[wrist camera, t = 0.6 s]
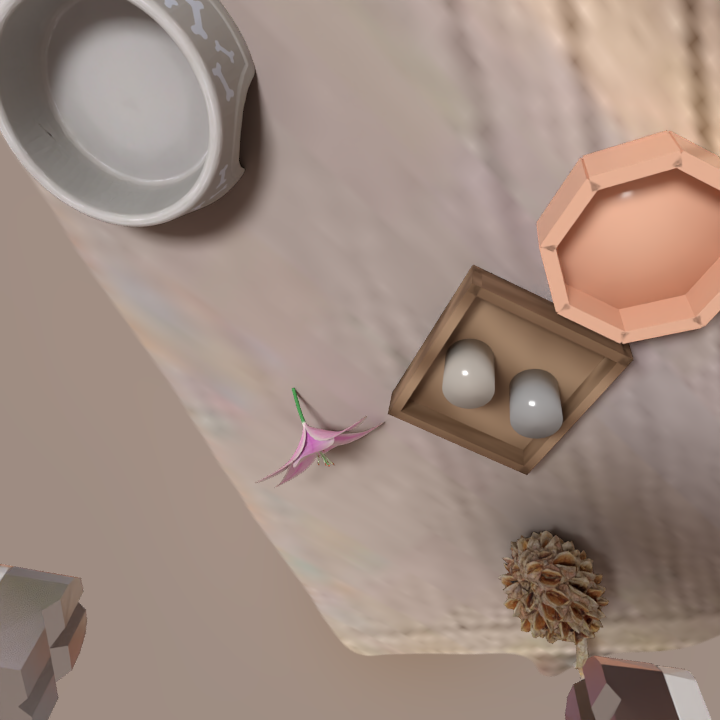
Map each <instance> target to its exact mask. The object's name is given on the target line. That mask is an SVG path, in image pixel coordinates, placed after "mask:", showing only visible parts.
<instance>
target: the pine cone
mask: <svg viewBox="0 0 720 720" xmlns="http://www.w3.org/2000/svg"><path fill="white" fill-rule="evenodd" d="M511 544H512V545H511V550H512V557H513V559H511V558H507V557H505V558H502V559H503V560H505V561H506V562H507V563H508V564H505V563H503V564H504V566H505V568H506V569H507V570H508V571H509V573H507V574H504V575H501V576H500V577H499V578H498V579H500V580H502V584H504V585H505V588H506V589H503V590H504V593H506V594H508V599H507V601H506V602H505V603H504V605H505V606H506V607H507V608H508V609H513V610H514V611H513V617H519V618H520V619H521V631H524V632H529V631H531V633H532V635H533V637H534V638H537V637H538V636H540V637H542V638H544V637H546V639H547V641H548V642H549V643H552V644H553V643H554V642H555V641H557V640H562V641H568V642H574V643H575V645H576V656H577V660H576V662H575V663H573V666H574V667H575V669H578V670H579V673H580V676H581V678H583V679H585V678H584V673H583V669H582V668H583V666H584V664H585V662H586V661H587V659H588V658H589V653H588V647H587V638H594V637H595V635H594V633H595V632H597V631H598V630H599V628H600V627H602V628H603V625H602V623H601V621H600V618H604V617H606V616H605V615H604V614H603V613H602V611H601V608H602V606H605V605H607V604H608V602H609V601H608V600H607V599H606V598H603V597H601V595H602V594H603V593H604V592H605V590H606V588H604V587H602V586H599V585H598V584H599V583H600V582H601V580H602V577H603V576H602V574H594V572H593V569H592V568H593V567H592V564H593V561H594V560H592V559H590V558H588V559H586V553H585V551H584V550H583V551H582V552H580V551H579V550H575V548H574V545H573V541H571V542H569V541H567V542H565V543H564V542H563V540H562V539H560V538H558V537H557V536H556V535H555V536H554V537H553V536H552V534H551V533H549V532H548V531H544V532H543V533H541V532H540V535H539V534H537V533H535V532H533V533H532V536H531V537H530V538H525V537H523V536H522V535H521V538H520V539H518V541H517V542H511Z"/></svg>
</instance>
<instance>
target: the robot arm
mask: <svg viewBox="0 0 720 720" xmlns="http://www.w3.org/2000/svg"><path fill="white" fill-rule="evenodd" d="M82 593H83V585H82V580H81V578H79V577H74V576H68V575H62V574H56V573H50V572H44V571H38V570H32V569H27V568H21V567H16V566H10V565H4V564H0V720H48V719H49V716H50V714H51V712H52V710H53V708H54V706H55V704H56V702H57V700H58V693H57V687H56V682H57V681H58V680H60V679H61V678H62V677H64V676H65V675H66V674H68V673H69V672H70V671H72V669H73V667H74V665H75V662H76V660H77V658H78V656H79V654H80V651H81V647H82V644H83V641H84V637H85V634H86V625H87V614H86V609H85V608H84V607H83V606H82V605H81V604H80V603H79V602H78V601H79V600H80V597H81V595H82ZM582 669H583V673H584V678H585V679H583V680H581V681H579V682H577V683H575V684H573V686H572V688H571V690H570V692H569V695H568V697H567V703H566V712H565V719H566V720H712V719H711V717H710V714H709V712H708V709H707V707H706V704H705V702H704V699H703V697H702V694H701V692H700V689H699V687H698V684H697V682H696V680H695V677H694V676H693V675H692V674H691V673H690V671H689V670H685V669H680V668H674V667H666V666H658V665H654V664H652V663H645V662H638V661H631V660H623V659H616V658H609V657H601V656H592V657H590V658H588V659H587V661H586V662H585V664H584V666H583V668H582Z"/></svg>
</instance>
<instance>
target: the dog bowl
mask: <svg viewBox="0 0 720 720" xmlns="http://www.w3.org/2000/svg"><path fill="white" fill-rule="evenodd" d="M254 74H255V66H254V63H253V60H252V57H251V54H250V51H249V49H248V47H247V45H246V43H245V41H244V38H243V36H242V34H241V33H240V31H239V29H238V27H237V26H236V24H235V23H234V21H233V19H232V18H231V16H230V15H229V13H228V12H227V10H226V9H225V8H224V6H223V5H222V4H221V2H220V1H219V0H0V131H1V133H2V134H3V136H4V138H5V140H6V142H7V143H8V145H9V146H10V148H11V150H12V151H13V153H14V154H15V155H16V157H17V158H18V159H19V161H20V162H21V163H22V165H23V166H24V167H25V168H26V169H27V171H28V172H29V173H30V174H31V175H32V176H33V177H34V178H35V179H36V180H37V181H38V182H39V183H40V184H41V185H42V186H43V187H44V188H45V189H47V190H48V191H49V192H50V193H51V194H53V195H54V196H55V197H57V198H58V199H59V200H61V201H62V202H64V203H65V204H67V205H68V206H70V207H72V208H73V209H75V210H77V211H79V212H81V213H83V214H85V215H87V216H89V217H92V218H94V219H97V220H100V221H103V222H106V223H110V224H115V225H120V226H129V227H146V226H153V225H158V224H162V223H165V222H169V221H171V220H173V219H176V218H178V217H180V216H183V215H185V214H187V213H190V212H193V211H196V210H198V209H201V208H203V207H205V206H207V205H210V204H211V203H213V202H215V201H216V200H218V199H219V198H221V197H222V196H223V195H225V194H226V193H227V192H228V191H229V190H230V189H231V188H232V187H233V186H234V185H235V184H236V183H237V182H238V181H239V179H240V178H241V176H242V175H243V173H244V171H245V169H244V168H242V167H241V166H240V163H239V149H240V134H241V124H242V116H243V108H244V103H245V99H246V94H247V91H248V88H249V85H250V83H251V81H252V79H253V77H254ZM40 125H41V126H40ZM46 131H47V132H46ZM49 133H50V134H51V135H52V136H50V135H49Z"/></svg>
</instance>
